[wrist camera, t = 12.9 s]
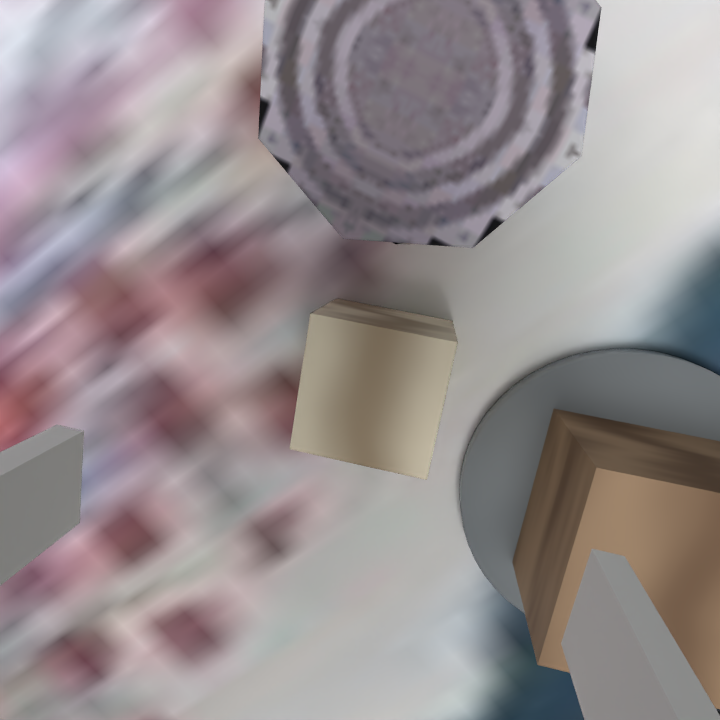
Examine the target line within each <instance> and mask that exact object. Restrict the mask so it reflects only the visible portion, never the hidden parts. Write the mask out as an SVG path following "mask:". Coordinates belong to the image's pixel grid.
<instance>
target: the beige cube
mask: <svg viewBox="0 0 720 720" xmlns="http://www.w3.org/2000/svg"><path fill="white" fill-rule="evenodd" d="M457 344H458V341H457V337H456V333H455V329H454V325H453V321H451V320H446V319H440V318H435V317H430V316H425V315H420V314H415V313H409V312H404V311H399V310H394V309H389V308H384V307H378V306H373V305H368V304H363V303H358V302H353V301H347V300H342V299H335V300H333V301H331V302H330V303H328V304H326V305H324V306H322V307H321V308H319V309H317V310H315V311H314V312H312V313H310V319H309V326H308V332H307V339H306V345H305V352H304V358H303V365H302V371H301V378H300V384H299V391H298V397H297V404H296V410H295V417H294V423H293V430H292V436H291V443H290V449H291V450H296V451H300V452H305V453H309V454H313V455H318V456H322V457H327V458H331V459H336V460H340V461H345V462H349V463H354V464H358V465H363V466H367V467H372V468H376V469H381V470H385V471H389V472H394V473H398V474H403V475H407V476H412V477H416V478H421V479H425V480H427V477H428V472H429V468H430V463H431V459H432V455H433V450H434V446H435V441H436V437H437V432H438V428H439V424H440V419H441V415H442V410H443V406H444V401H445V397H446V392H447V388H448V384H449V379H450V375H451V370H452V366H453V361H454V357H455V353H456V348H457Z"/></svg>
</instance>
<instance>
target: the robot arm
mask: <svg viewBox="0 0 720 720" xmlns="http://www.w3.org/2000/svg"><path fill="white" fill-rule="evenodd" d="M83 438H84V431H82V430H78V429H74V428H69V427H65V426H61V425H55V426H53V427H51V428H49V429H47V430H45V431H43V432H41V433H39V434H37V435H35V436H33V437H31V438H29V439H27V440H24V441H22V442H20V443H18V444H16V445H14V446H12V447H10V448H8V449H6V450H4V451H2V452H0V585H2V584H3V583H4V582H5V581H7V580H8V579H9V578H11V577H12V576H13V575H14V574H16V573H17V572H18V571H19V570H21V569H22V568H23V567H24V566H26V565H27V564H28V563H29V562H31V561H32V560H33V559H35V558H36V557H37V556H38V555H40V554H41V553H42V552H43V551H45V550H46V549H47V548H48V547H50V546H51V545H52V544H54V543H55V542H56V541H57V540H59V539H60V538H61V537H62V536H64V535H65V534H66V533H67V532H69V531H70V530H71V529H72V528H74V527H75V526H76V525H78V524H79V523H80V503H81V481H82V460H83ZM561 645H562V648H563V652H564V655H565V658H566V661H567V664H568V668H569V671H570V674H571V677H572V681H573V684H574V687H575V690H576V694H577V697H578V700H579V703H580V706H581V710H582V713H583V716H584V719H585V720H720V712H719V711H717V710H716V708H715V707H714V705H713V703H712V702H711V700H710V698H709V697H708V695H707V693H706V692H705V690H704V688H703V687H702V685H701V683H700V682H699V680H698V678H697V676H696V675H695V673H694V671H693V670H692V668H691V666H690V665H689V663H688V661H687V660H686V658H685V656H684V655H683V653H682V651H681V650H680V648H679V646H678V645H677V643H676V641H675V640H674V638H673V636H672V635H671V633H670V631H669V630H668V628H667V626H666V625H665V623H664V621H663V620H662V618H661V616H660V615H659V613H658V611H657V609H656V608H655V606H654V604H653V603H652V601H651V599H650V598H649V596H648V594H647V593H646V591H645V589H644V588H643V586H642V584H641V583H640V581H639V579H638V578H637V576H636V574H635V573H634V571H633V569H632V568H631V566H630V564H629V563H628V561H627V559H626V558H625V556H622V555H617V554H613V553H609V552H605V551H600V550H596V549H591V553H590V556H589V559H588V562H587V565H586V568H585V571H584V574H583V577H582V580H581V583H580V586H579V589H578V593H577V596H576V599H575V602H574V605H573V608H572V611H571V614H570V617H569V620H568V623H567V626H566V630H565V633H564V636H563V639H562V642H561Z"/></svg>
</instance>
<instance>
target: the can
mask: <svg viewBox="0 0 720 720" xmlns="http://www.w3.org/2000/svg"><path fill="white" fill-rule="evenodd" d="M600 13H601V6H600V5H599V4H598V3H597V1H596V0H265V7H264V29H263V50H262V72H261V94H260V115H259V137H258V138H259V140H260V141H261V142H262V143H263V144H264V146H265V147H266V148H267V149H268V150H269V151H270V153H271V154H272V155H273V156H274V157H275V159H276V160H277V161H278V162H279V163H280V165H281V166H282V167H283V168H284V169H285V170H286V172H287V173H288V174H289V175H290V176H291V178H292V179H293V180H294V181H295V182H296V184H297V185H298V186H299V187H300V188H301V190H302V191H303V192H304V193H305V194H306V195H307V197H308V198H309V199H310V200H311V201H312V203H313V204H314V205H315V206H316V207H317V209H318V210H319V211H320V212H321V213H322V214H323V216H324V217H325V218H326V219H327V220H328V222H329V223H330V224H331V225H332V226H333V228H334V229H335V230H336V231H337V232H338V234H339V235H340V236H341V237H342V238H343V239H355V240H369V241H383V242H392V243H394V244H425V245H439V246H454V247H468V248H473V247H474V246H476V245H477V244H478V243H479V242H480V241H482V240H483V239H484V238H485V237H486V236H487V235H489V234H490V233H491V232H492V231H493V230H495V229H496V228H497V227H498V226H499V225H501V224H502V223H503V222H504V221H505V220H506V219H508V218H509V217H510V216H511V215H512V214H514V213H515V212H516V211H517V210H518V209H519V208H521V207H522V206H523V205H524V204H525V203H527V202H528V201H529V200H530V199H531V198H532V197H534V196H535V195H536V194H537V193H538V192H540V191H541V190H542V189H543V188H544V187H546V186H547V185H548V184H549V183H550V182H551V181H553V180H554V179H555V178H556V177H557V176H559V175H560V174H561V173H562V172H563V171H564V170H566V169H567V168H568V167H569V166H570V165H572V164H573V163H574V162H575V161H576V160H577V159H579V158H580V157H581V155H582V148H583V140H584V133H585V126H586V118H587V111H588V103H589V96H590V88H591V81H592V73H593V66H594V58H595V51H596V43H597V36H598V28H599V21H600Z"/></svg>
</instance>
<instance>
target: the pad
mask: <svg viewBox="0 0 720 720" xmlns="http://www.w3.org/2000/svg"><path fill="white" fill-rule="evenodd" d="M553 409H559V410H564V411H569V412H574V413H579V414H584V415H589V416H594V417H599V418H604V419H610V420H615V421H620V422H625V423H630V424H635V425H640V426H645V427H650V428H655V429H660V430H665V431H671V432H676V433H681V434H686V435H691V436H696V437H701V438H706V439H711V440H716V441H720V376H719V375H717V374H715V373H713V372H712V371H710V370H707V369H705V368H703V367H701V366H699V365H696V364H694V363H691V362H689V361H686V360H684V359H681V358H679V357H676V356H672V355H668V354H664V353H660V352H656V351H648V350H640V349H606V350H597V351H590V352H586V353H582V354H577V355H573V356H569V357H567V358H564V359H561V360H559V361H556V362H553V363H551V364H548V365H547V366H545V367H543V368H541V369H539V370H537V371H535V372H533V373H531V374H530V375H528V376H527V377H525V378H524V379H522V380H521V381H519V382H518V383H516V384H515V385H514V386H513V387H511V388H510V389H509V390H508V391H507V392H506V393H505V394H504V395H502V396H501V397H500V398H499V399H498V400H497V402H496V403H495V404H494V405H493V406H492V407H491V408H490V410H489V411H488V412H487V413H486V415H485V416H484V418H483V419H482V421H481V422H480V424H479V425H478V427H477V428H476V430H475V432H474V434H473V437H472V439H471V441H470V443H469V445H468V448H467V451H466V454H465V457H464V460H463V465H462V471H461V477H460V504H461V513H462V521H463V527H464V531H465V535H466V538H467V542H468V545H469V547H470V549H471V552H472V554H473V556H474V559H475V561H476V562H477V564H478V565H479V567H480V569H481V570H482V572H483V574H484V575H485V576H486V578H487V579H488V580H489V581H490V583H491V584H492V585H493V586H494V588H495V589H496V590H497V591H498V592H499V593H500V594H501V595H502V596H503V597H504V598H506V599H507V600H508V601H509V602H510V603H511V604H513V605H514V606H515V607H517V608H518V609H519V610H521V611H522V612H523V613H525V612H524V607H523V603H522V599H521V595H520V591H519V587H518V583H517V579H516V575H515V571H514V567H513V563H512V561H513V557H514V554H515V550H516V546H517V543H518V539H519V535H520V531H521V528H522V524H523V520H524V517H525V513H526V509H527V505H528V502H529V498H530V494H531V491H532V487H533V483H534V479H535V476H536V472H537V468H538V465H539V461H540V457H541V453H542V450H543V446H544V442H545V439H546V435H547V431H548V427H549V424H550V420H551V416H552V413H553Z"/></svg>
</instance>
